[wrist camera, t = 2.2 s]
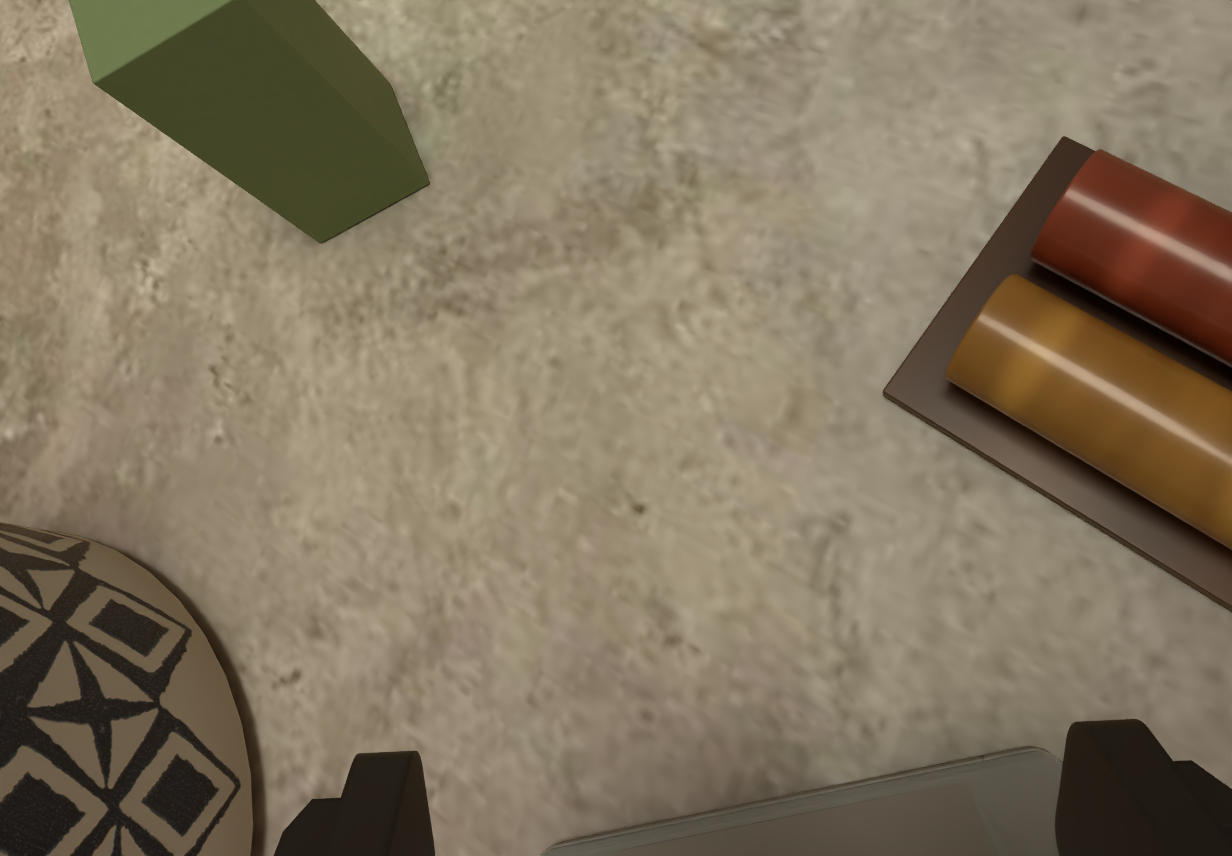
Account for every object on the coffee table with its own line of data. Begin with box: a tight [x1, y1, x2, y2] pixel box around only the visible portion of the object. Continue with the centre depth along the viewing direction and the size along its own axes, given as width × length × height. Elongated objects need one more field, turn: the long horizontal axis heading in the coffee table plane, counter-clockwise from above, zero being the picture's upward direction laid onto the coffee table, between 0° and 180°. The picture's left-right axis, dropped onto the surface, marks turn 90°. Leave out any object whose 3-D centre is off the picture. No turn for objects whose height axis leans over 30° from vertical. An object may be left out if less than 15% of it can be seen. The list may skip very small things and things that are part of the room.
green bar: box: [69, 0, 429, 243], centre depth 35 cm, size 5×5×12 cm
